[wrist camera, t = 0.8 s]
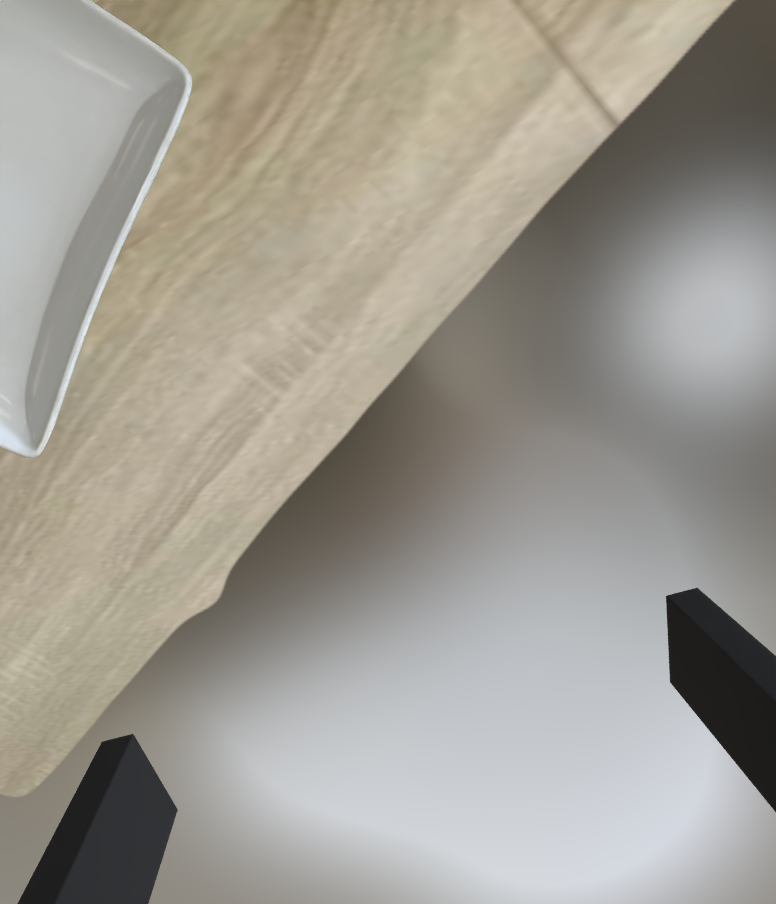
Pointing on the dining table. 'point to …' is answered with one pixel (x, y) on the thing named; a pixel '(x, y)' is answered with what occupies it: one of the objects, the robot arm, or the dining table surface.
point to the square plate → (69, 186)
